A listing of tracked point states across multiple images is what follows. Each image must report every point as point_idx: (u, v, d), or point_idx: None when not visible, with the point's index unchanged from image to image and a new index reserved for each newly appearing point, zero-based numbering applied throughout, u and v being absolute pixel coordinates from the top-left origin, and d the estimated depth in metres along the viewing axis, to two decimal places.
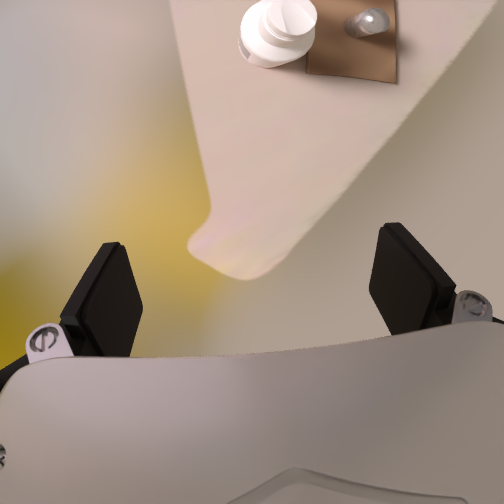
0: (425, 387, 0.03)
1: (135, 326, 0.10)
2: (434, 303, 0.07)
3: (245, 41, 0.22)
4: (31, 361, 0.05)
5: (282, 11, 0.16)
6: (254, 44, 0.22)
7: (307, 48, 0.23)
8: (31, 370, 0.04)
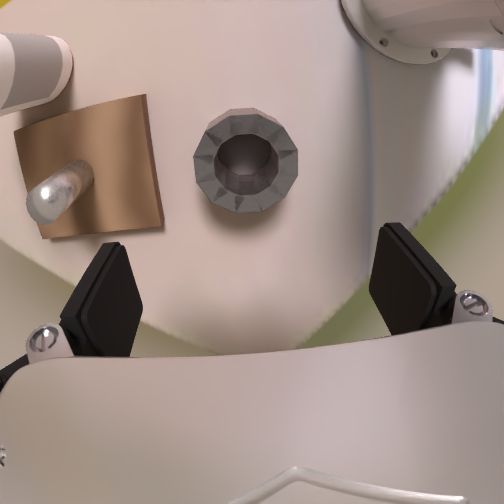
0: (425, 387, 0.03)
1: (135, 326, 0.10)
2: (434, 303, 0.07)
3: None
4: (31, 361, 0.05)
5: None
6: None
7: None
8: (31, 370, 0.04)
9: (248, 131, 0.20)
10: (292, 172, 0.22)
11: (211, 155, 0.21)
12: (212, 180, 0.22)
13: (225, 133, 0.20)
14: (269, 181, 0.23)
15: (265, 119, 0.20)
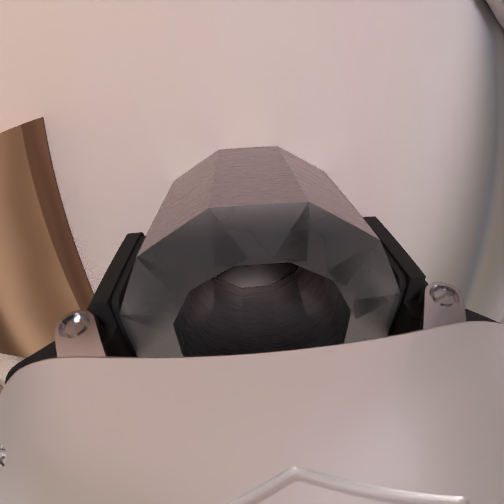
0: (425, 387, 0.03)
1: None
2: (403, 294, 0.08)
3: None
4: (58, 346, 0.06)
5: None
6: None
7: None
8: (31, 370, 0.04)
9: (274, 256, 0.07)
10: (374, 338, 0.08)
11: (166, 316, 0.07)
12: None
13: (201, 262, 0.07)
14: (314, 344, 0.10)
15: (331, 219, 0.06)
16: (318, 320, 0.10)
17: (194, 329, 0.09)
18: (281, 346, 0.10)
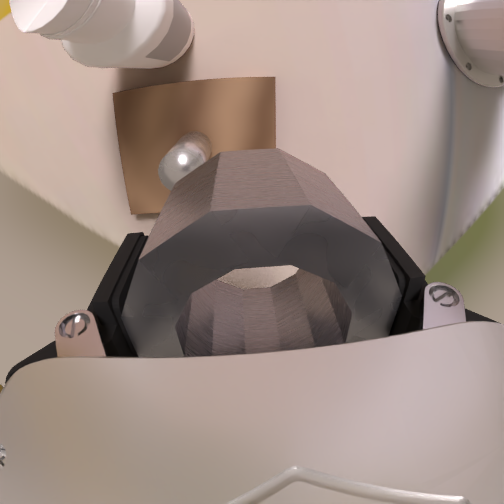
0: (425, 387, 0.03)
1: None
2: (403, 294, 0.08)
3: None
4: (58, 346, 0.06)
5: None
6: None
7: (79, 60, 0.13)
8: (31, 370, 0.04)
9: (276, 258, 0.07)
10: None
11: (168, 318, 0.07)
12: None
13: (203, 265, 0.07)
14: (315, 346, 0.10)
15: (333, 222, 0.06)
16: (319, 322, 0.10)
17: (195, 331, 0.10)
18: (282, 347, 0.10)
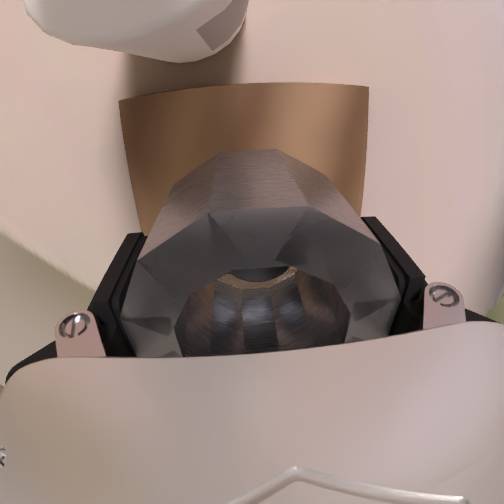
0: (425, 387, 0.03)
1: None
2: (403, 294, 0.08)
3: None
4: (58, 346, 0.06)
5: None
6: None
7: (56, 30, 0.05)
8: (31, 370, 0.04)
9: (274, 259, 0.07)
10: None
11: (167, 319, 0.07)
12: None
13: (201, 266, 0.07)
14: None
15: (331, 223, 0.06)
16: (318, 322, 0.10)
17: (194, 331, 0.10)
18: (281, 348, 0.10)
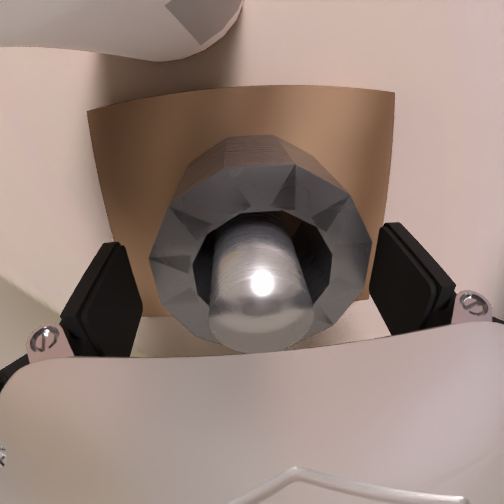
0: (425, 387, 0.03)
1: (135, 326, 0.10)
2: (434, 303, 0.07)
3: None
4: (31, 361, 0.05)
5: None
6: None
7: None
8: (31, 370, 0.04)
9: (270, 205, 0.09)
10: (354, 283, 0.11)
11: (187, 257, 0.10)
12: (193, 302, 0.11)
13: (217, 210, 0.09)
14: None
15: (311, 177, 0.09)
16: (308, 273, 0.12)
17: (206, 279, 0.12)
18: None
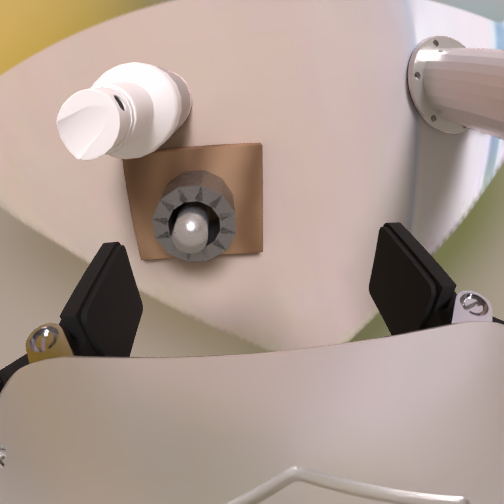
0: (425, 387, 0.03)
1: (135, 326, 0.10)
2: (434, 303, 0.07)
3: (106, 72, 0.16)
4: (31, 361, 0.05)
5: (86, 108, 0.11)
6: (100, 83, 0.16)
7: None
8: (31, 370, 0.04)
9: (194, 199, 0.26)
10: (231, 230, 0.28)
11: (166, 218, 0.26)
12: (167, 237, 0.27)
13: (176, 201, 0.26)
14: (214, 236, 0.29)
15: (207, 189, 0.25)
16: (216, 229, 0.29)
17: None
18: None
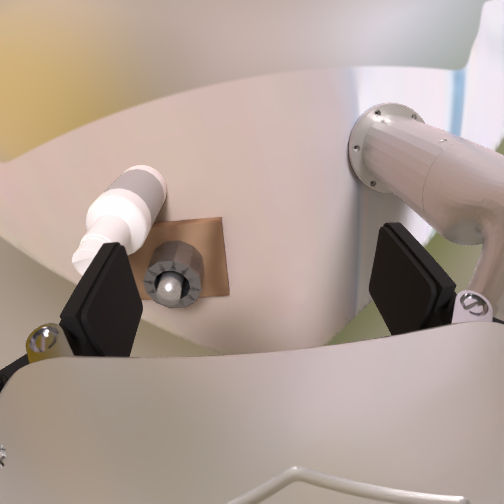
0: (425, 387, 0.03)
1: (135, 326, 0.10)
2: (434, 303, 0.07)
3: (96, 201, 0.27)
4: (31, 361, 0.05)
5: (87, 258, 0.22)
6: (93, 210, 0.27)
7: None
8: (31, 370, 0.04)
9: (170, 269, 0.37)
10: (198, 288, 0.39)
11: (152, 281, 0.38)
12: (154, 292, 0.38)
13: (158, 270, 0.37)
14: (187, 290, 0.40)
15: (178, 263, 0.36)
16: (189, 285, 0.40)
17: None
18: (181, 292, 0.41)
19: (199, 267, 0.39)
